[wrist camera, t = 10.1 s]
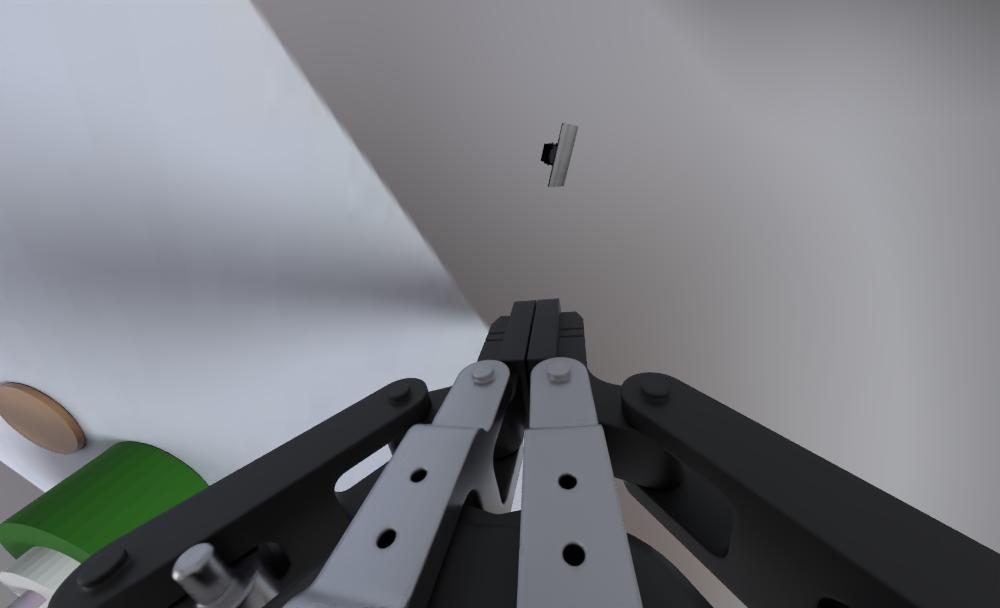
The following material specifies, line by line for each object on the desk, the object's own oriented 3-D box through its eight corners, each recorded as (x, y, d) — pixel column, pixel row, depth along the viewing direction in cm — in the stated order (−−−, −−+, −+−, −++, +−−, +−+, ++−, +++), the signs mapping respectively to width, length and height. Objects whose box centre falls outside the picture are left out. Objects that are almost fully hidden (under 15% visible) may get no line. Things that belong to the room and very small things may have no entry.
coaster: (-19, 383, 24) (-28, 387, 23) (42, 381, 22) (33, 385, 22) (43, 449, 26) (36, 453, 26) (102, 451, 25) (95, 455, 24)
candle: (86, 451, 25) (-177, 627, 16) (156, 432, 22) (-113, 629, 14) (169, 525, 28) (-16, 709, 19) (240, 516, 25) (62, 725, 16)
